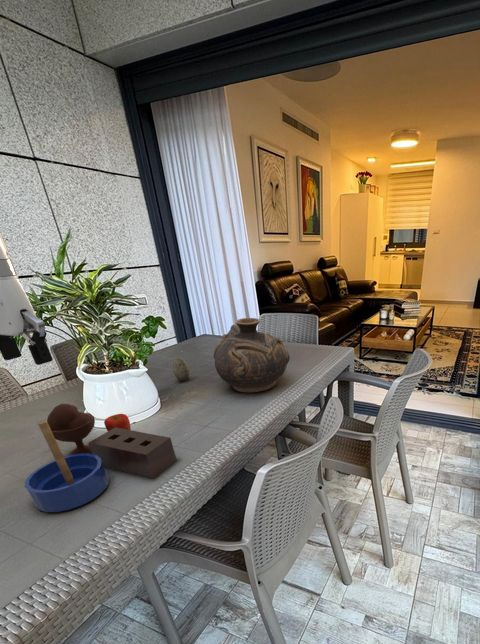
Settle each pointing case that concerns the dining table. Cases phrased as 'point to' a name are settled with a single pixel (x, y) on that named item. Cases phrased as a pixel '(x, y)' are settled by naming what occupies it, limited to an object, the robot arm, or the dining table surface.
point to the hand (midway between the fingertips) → (28, 360)
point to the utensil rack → (134, 452)
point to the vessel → (250, 357)
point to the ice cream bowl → (71, 426)
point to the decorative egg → (181, 369)
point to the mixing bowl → (53, 489)
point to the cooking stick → (56, 451)
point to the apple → (117, 422)
